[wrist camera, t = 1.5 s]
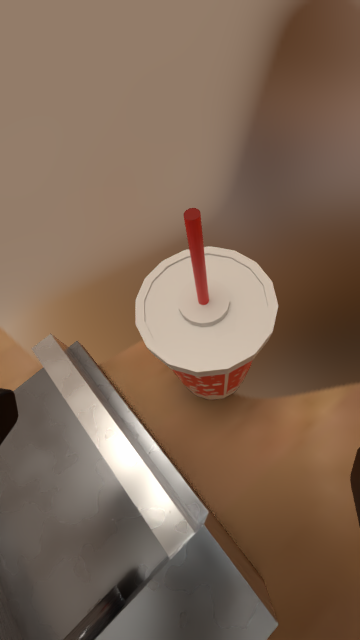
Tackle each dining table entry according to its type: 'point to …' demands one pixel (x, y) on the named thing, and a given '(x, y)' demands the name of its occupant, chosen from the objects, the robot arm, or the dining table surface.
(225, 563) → the housing
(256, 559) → the dining table surface
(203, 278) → the beverage cup
